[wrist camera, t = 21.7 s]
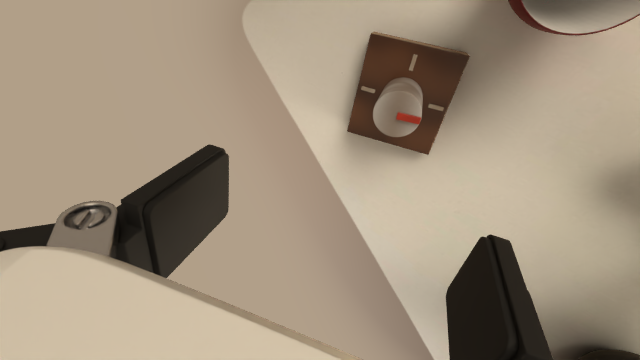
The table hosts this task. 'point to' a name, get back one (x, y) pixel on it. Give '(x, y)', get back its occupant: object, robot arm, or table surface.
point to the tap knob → (399, 107)
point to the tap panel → (417, 64)
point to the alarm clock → (610, 355)
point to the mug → (575, 14)
